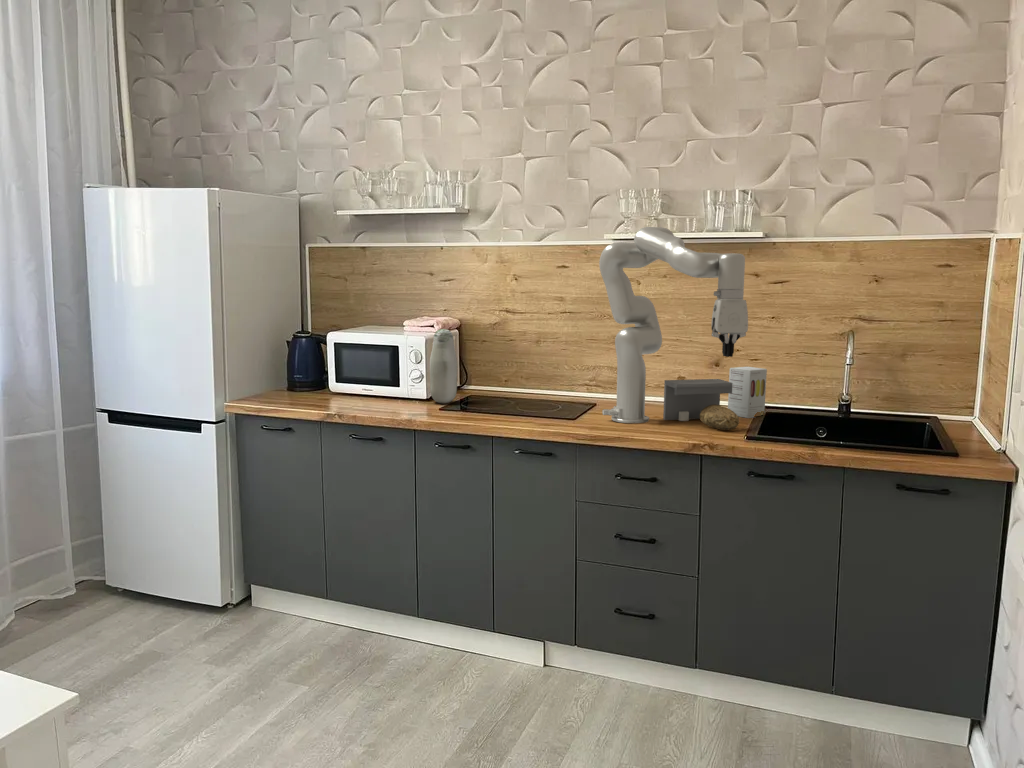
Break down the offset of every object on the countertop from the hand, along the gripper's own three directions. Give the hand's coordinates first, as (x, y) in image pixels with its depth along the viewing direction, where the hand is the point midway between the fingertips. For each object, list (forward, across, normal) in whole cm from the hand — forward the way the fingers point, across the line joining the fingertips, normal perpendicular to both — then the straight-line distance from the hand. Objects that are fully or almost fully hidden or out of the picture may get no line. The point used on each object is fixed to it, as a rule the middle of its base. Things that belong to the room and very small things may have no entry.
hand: (727, 356), depth 252 cm
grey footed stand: (+25, +4, +29) cm, 39 cm away
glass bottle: (+25, -75, +80) cm, 113 cm away
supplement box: (+25, +26, +35) cm, 50 cm away
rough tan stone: (+26, +7, +17) cm, 31 cm away
